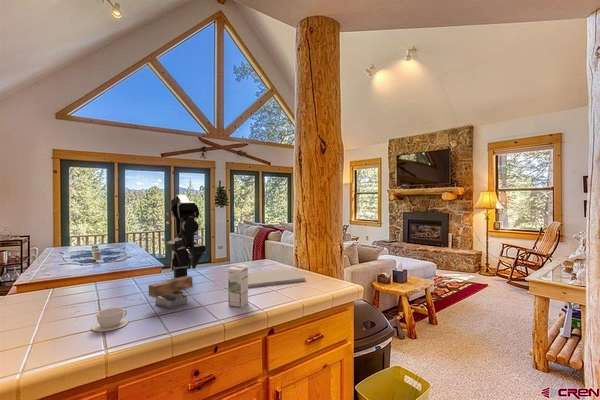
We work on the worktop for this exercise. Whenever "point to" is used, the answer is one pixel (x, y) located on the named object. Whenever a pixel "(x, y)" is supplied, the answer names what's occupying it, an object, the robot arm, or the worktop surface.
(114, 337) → the worktop surface
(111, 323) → the teacup
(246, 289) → the syrup box
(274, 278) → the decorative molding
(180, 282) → the walnut bar
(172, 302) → the ridge block
